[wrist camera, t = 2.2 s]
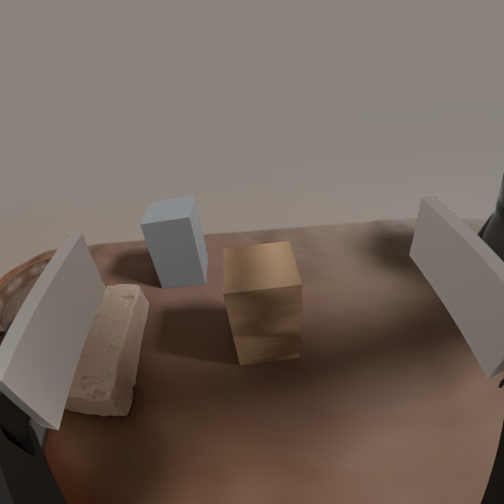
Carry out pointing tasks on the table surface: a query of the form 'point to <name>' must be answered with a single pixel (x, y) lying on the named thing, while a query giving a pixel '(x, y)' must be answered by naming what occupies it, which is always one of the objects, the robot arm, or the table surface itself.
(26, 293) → the plant saucer
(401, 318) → the table surface
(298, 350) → the walnut block
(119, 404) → the brick
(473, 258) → the robot arm
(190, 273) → the slate block
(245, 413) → the table surface
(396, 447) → the table surface
